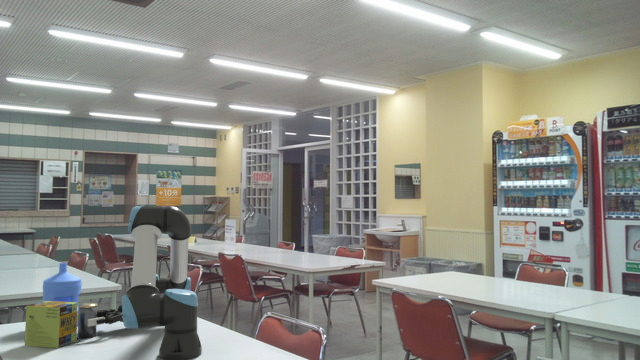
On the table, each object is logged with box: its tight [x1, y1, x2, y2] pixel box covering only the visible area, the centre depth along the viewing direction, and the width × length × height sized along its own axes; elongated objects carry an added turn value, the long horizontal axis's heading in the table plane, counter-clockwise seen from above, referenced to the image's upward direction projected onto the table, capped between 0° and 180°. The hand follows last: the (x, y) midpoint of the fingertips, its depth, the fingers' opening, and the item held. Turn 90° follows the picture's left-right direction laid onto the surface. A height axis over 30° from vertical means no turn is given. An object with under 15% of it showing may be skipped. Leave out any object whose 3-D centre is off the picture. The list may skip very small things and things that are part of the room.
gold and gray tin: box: [77, 302, 98, 340], centre depth 206 cm, size 7×7×13 cm
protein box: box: [24, 301, 79, 349], centre depth 195 cm, size 10×15×16 cm
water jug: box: [42, 262, 83, 327], centre depth 223 cm, size 16×16×28 cm
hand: (80, 320), depth 204 cm, fingers open, 13 cm apart
